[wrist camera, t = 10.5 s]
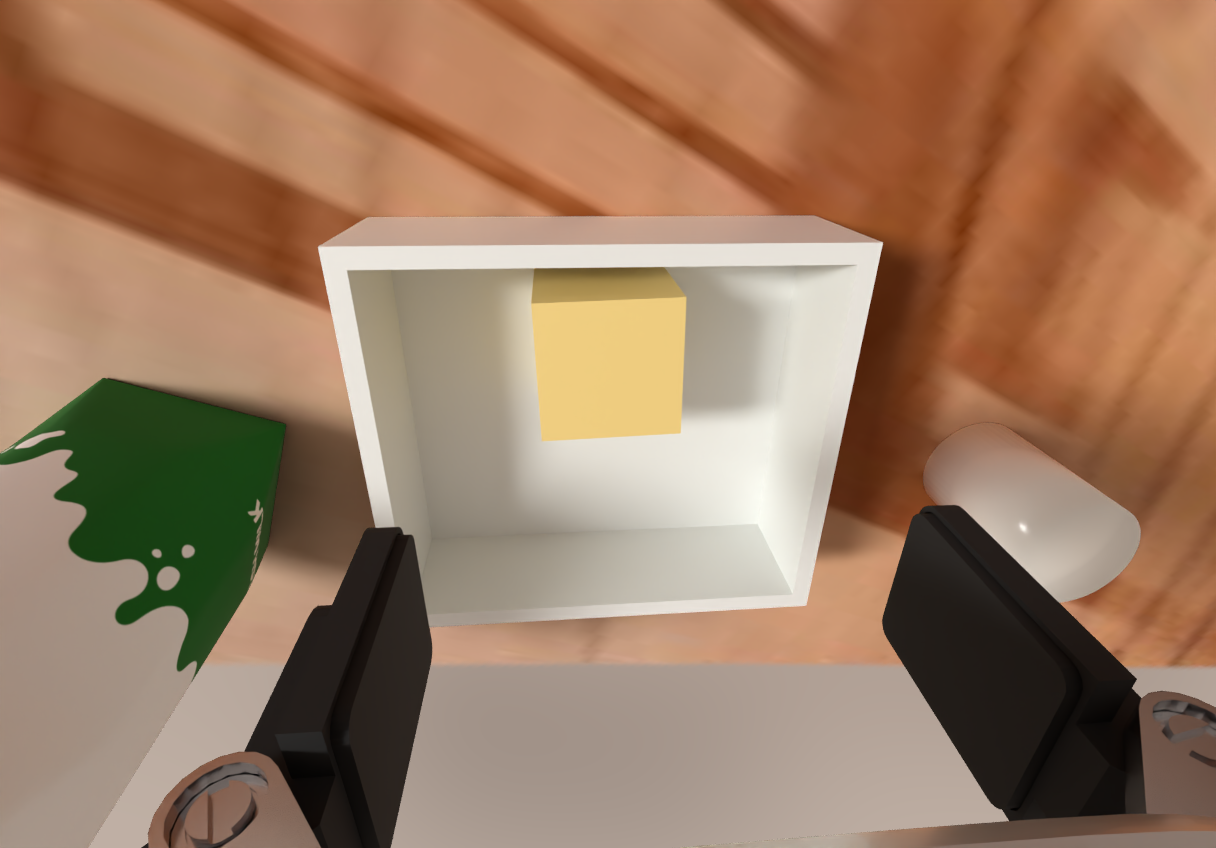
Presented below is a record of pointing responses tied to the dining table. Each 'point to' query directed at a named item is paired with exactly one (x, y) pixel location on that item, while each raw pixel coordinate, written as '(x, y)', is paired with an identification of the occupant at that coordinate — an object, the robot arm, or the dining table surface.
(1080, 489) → the white canister
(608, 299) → the mustard block
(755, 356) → the tote
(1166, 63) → the dining table surface
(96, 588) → the milk carton
